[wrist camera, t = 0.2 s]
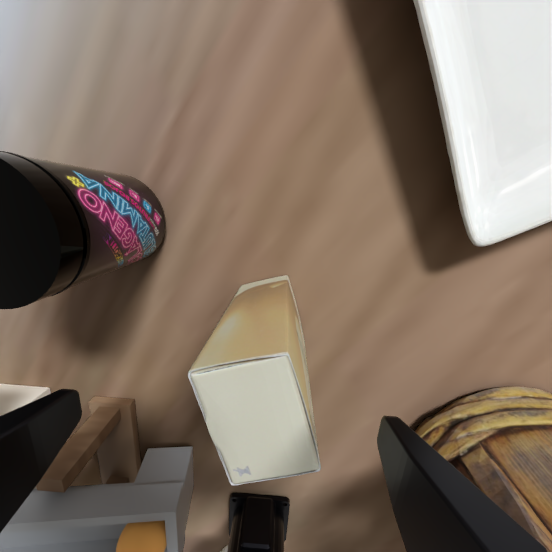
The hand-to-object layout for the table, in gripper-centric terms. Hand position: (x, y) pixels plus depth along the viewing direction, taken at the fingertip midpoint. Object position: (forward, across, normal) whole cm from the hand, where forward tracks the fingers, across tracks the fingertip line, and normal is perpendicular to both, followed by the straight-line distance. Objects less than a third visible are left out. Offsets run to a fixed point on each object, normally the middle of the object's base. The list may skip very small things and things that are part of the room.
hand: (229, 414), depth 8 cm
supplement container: (+15, +11, -4) cm, 19 cm away
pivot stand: (+14, +14, +19) cm, 28 cm away
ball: (+7, +8, +19) cm, 21 cm away
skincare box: (+15, -1, +3) cm, 15 cm away
